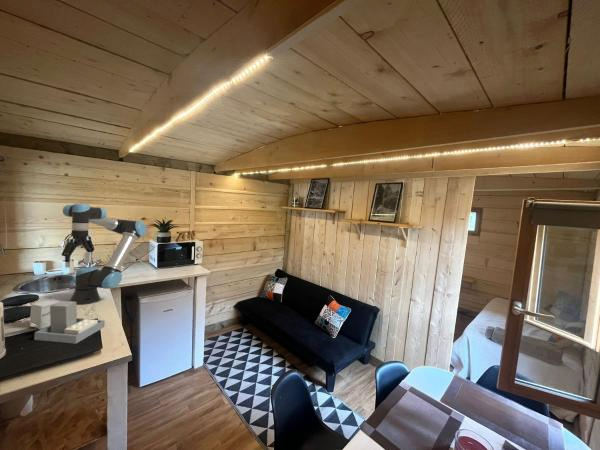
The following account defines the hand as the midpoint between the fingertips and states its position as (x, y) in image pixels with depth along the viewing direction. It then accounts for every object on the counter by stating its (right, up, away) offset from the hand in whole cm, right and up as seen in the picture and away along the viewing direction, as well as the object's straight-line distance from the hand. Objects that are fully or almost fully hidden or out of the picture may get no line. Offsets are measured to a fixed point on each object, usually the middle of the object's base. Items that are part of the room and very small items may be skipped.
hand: (78, 264), depth 149 cm
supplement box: (-8, -31, -13) cm, 35 cm away
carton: (+19, -33, -19) cm, 42 cm away
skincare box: (+9, -33, -20) cm, 39 cm away
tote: (+13, -34, -19) cm, 41 cm away
